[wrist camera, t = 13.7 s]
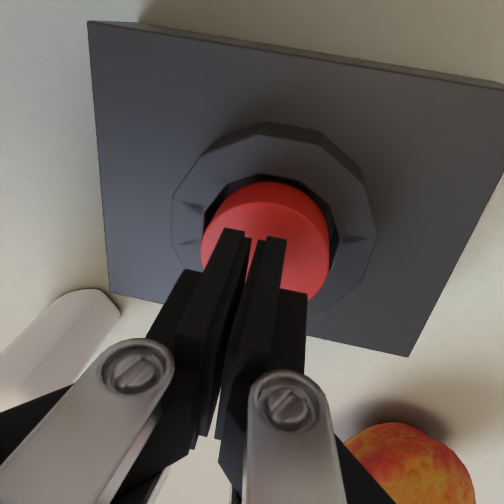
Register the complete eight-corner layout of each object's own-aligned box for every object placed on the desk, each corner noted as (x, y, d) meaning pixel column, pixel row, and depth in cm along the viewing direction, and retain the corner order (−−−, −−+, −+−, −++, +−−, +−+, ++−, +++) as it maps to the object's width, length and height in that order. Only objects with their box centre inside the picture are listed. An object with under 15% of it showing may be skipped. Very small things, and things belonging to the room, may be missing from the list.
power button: (209, 271, 14) (196, 299, 13) (219, 170, 12) (204, 189, 11) (314, 293, 14) (312, 324, 12) (342, 193, 12) (344, 217, 10)
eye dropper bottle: (131, 342, 24) (-6, 563, 14) (54, 334, 25) (-127, 537, 15) (117, 287, 22) (-58, 504, 12) (33, 281, 23) (-195, 478, 13)
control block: (141, 253, 21) (88, 318, 16) (135, 22, 15) (50, 18, 10) (395, 306, 20) (417, 391, 15) (494, 81, 14) (580, 106, 9)
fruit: (325, 391, 24) (325, 534, 17) (463, 400, 22) (523, 561, 15) (326, 463, 28) (327, 603, 21) (443, 474, 26) (485, 630, 19)
